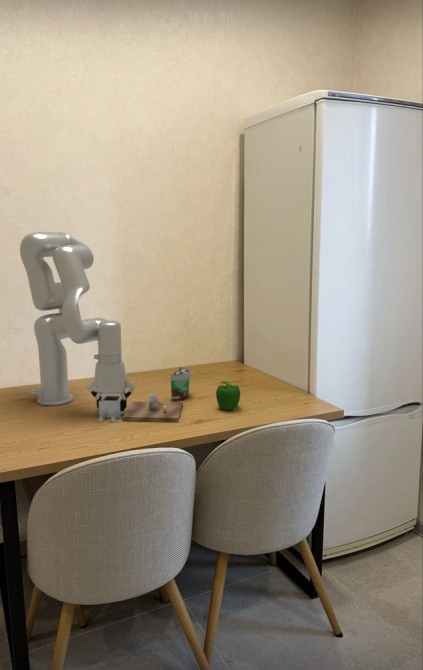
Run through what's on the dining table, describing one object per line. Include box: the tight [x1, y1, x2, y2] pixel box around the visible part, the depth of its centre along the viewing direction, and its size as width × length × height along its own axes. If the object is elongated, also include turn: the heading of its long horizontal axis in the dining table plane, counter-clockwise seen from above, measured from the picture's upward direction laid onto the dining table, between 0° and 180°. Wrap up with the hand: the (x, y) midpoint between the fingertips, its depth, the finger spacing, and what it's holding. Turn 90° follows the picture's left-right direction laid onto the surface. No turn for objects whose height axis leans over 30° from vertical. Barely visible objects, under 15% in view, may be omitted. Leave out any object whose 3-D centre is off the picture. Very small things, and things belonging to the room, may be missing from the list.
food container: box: [169, 366, 192, 402], centre depth 195 cm, size 12×6×10 cm, turn 168°
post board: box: [121, 393, 184, 423], centre depth 177 cm, size 18×16×6 cm
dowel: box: [163, 405, 167, 414], centre depth 174 cm, size 1×1×2 cm
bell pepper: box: [215, 379, 241, 411], centre depth 182 cm, size 8×8×10 cm
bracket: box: [98, 394, 126, 423], centre depth 175 cm, size 11×7×6 cm, turn 178°
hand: (111, 409), depth 177 cm, fingers closed on bracket, 7 cm apart
